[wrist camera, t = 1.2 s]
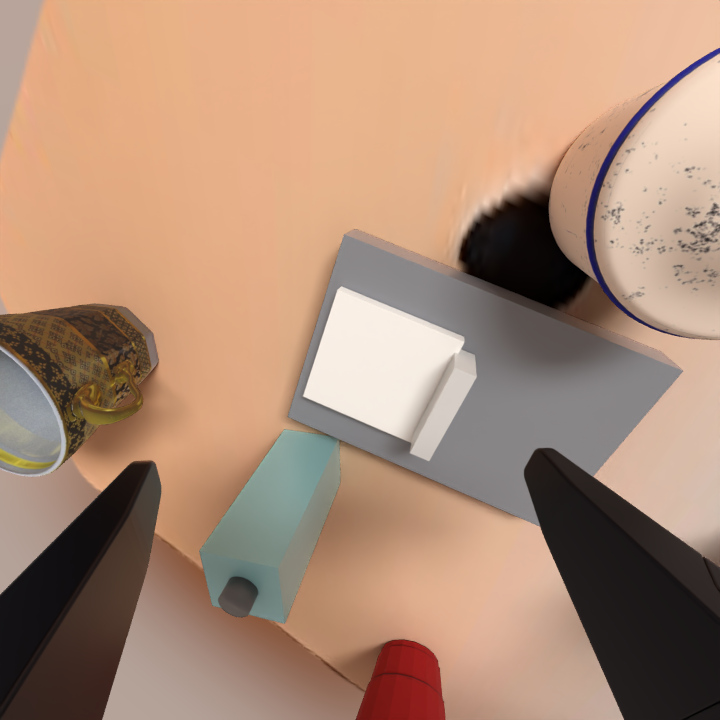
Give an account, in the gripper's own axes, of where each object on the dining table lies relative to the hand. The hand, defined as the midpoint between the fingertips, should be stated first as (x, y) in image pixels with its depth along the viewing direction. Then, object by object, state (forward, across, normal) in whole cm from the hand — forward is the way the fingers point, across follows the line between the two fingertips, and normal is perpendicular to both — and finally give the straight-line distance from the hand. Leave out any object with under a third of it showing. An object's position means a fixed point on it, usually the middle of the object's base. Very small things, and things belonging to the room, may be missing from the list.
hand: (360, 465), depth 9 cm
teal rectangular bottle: (+15, -1, +18) cm, 23 cm away
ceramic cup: (+22, +13, +12) cm, 28 cm away
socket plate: (+13, -9, +8) cm, 18 cm away
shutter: (+13, -4, +7) cm, 15 cm away
